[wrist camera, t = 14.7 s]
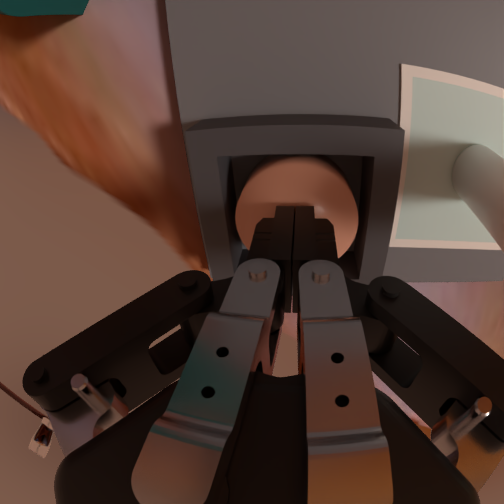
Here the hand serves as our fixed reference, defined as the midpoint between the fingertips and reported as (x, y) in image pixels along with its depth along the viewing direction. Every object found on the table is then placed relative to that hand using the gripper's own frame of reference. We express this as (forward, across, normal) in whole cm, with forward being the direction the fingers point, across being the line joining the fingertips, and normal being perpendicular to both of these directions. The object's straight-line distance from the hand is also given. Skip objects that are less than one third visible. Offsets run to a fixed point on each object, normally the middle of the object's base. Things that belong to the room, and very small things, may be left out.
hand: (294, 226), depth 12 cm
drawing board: (+3, -5, -5) cm, 7 cm away
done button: (+2, 0, 0) cm, 2 cm away
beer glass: (+4, +79, +78) cm, 111 cm away
